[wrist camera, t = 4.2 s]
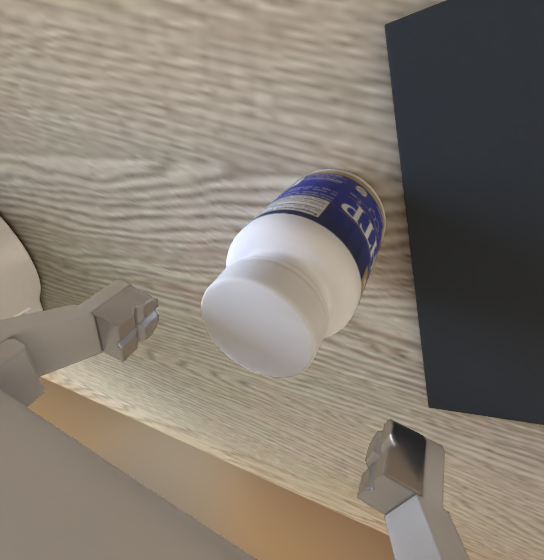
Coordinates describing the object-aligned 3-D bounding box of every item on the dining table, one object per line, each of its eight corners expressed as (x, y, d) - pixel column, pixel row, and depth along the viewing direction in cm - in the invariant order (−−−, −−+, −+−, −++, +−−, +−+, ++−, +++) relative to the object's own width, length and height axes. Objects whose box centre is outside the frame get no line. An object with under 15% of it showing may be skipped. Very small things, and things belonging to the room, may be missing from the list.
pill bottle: (394, 261, 17) (353, 405, 10) (299, 266, 19) (219, 384, 13) (378, 153, 14) (311, 253, 8) (272, 176, 17) (156, 265, 10)
